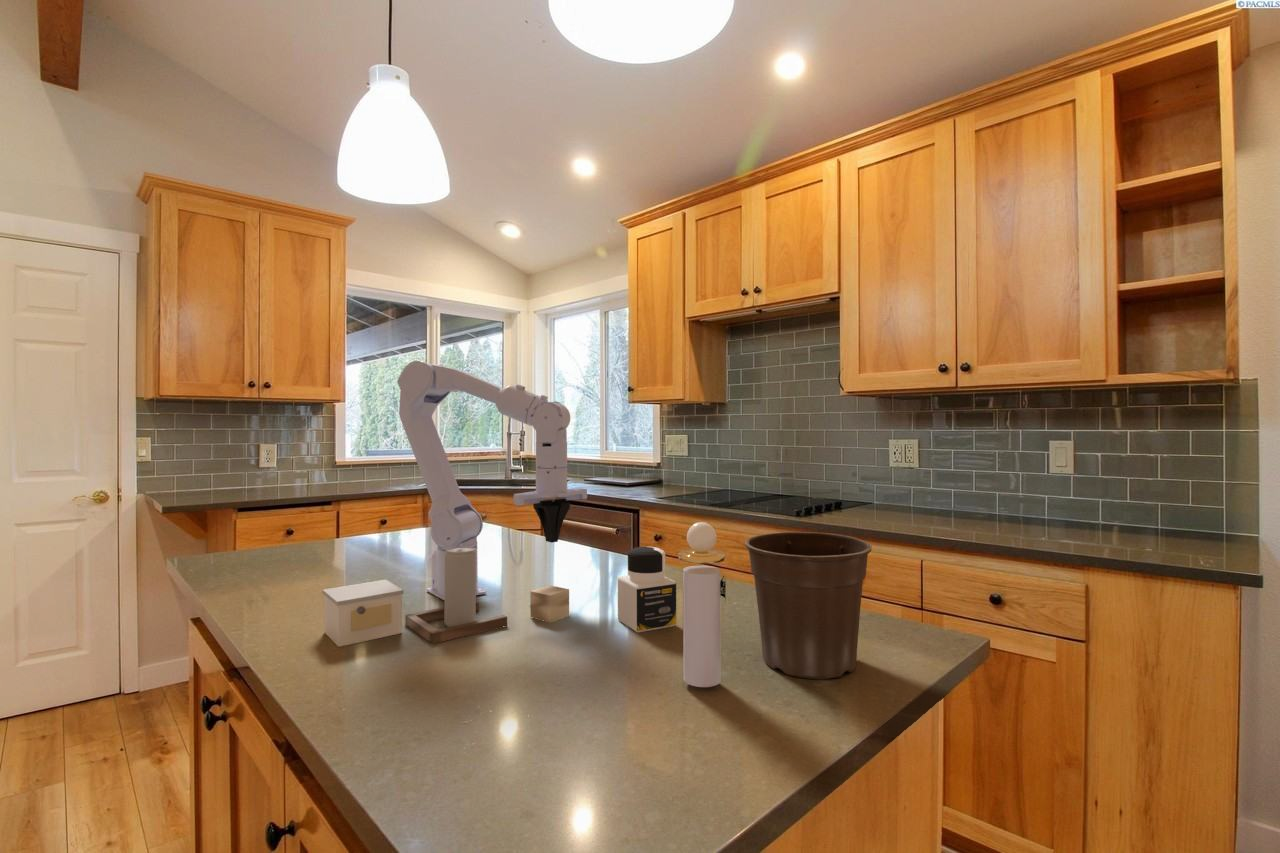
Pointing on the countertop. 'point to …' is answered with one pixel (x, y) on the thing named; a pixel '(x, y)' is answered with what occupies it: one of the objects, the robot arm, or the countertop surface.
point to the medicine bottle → (646, 592)
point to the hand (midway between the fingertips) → (551, 541)
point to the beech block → (549, 603)
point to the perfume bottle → (702, 608)
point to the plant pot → (809, 600)
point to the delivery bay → (434, 636)
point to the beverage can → (460, 586)
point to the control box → (362, 612)
